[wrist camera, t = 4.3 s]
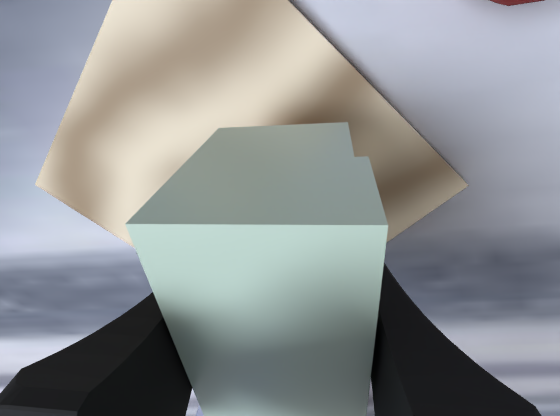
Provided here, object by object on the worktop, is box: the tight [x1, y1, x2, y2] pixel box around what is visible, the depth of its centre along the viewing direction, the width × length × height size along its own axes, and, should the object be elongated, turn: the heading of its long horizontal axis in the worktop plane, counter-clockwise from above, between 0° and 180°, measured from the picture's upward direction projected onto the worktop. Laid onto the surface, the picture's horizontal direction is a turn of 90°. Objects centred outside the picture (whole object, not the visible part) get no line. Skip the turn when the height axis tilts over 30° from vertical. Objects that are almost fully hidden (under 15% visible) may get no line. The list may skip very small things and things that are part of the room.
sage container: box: [125, 122, 388, 416], centre depth 12 cm, size 10×6×7 cm, turn 5°
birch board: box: [35, 0, 468, 248], centre depth 20 cm, size 20×19×1 cm
